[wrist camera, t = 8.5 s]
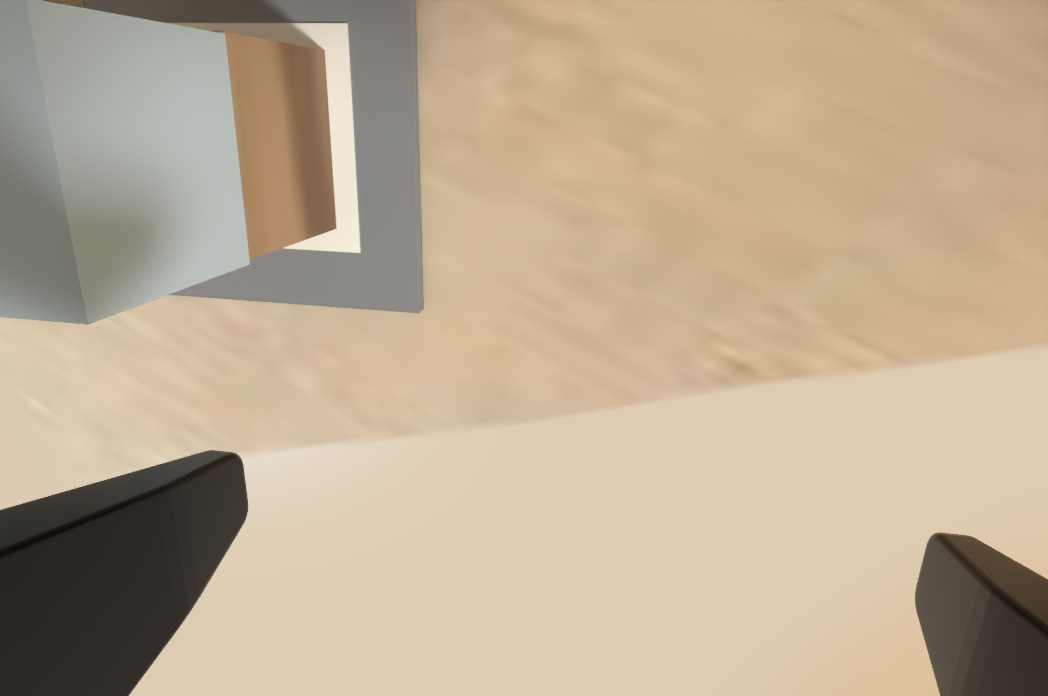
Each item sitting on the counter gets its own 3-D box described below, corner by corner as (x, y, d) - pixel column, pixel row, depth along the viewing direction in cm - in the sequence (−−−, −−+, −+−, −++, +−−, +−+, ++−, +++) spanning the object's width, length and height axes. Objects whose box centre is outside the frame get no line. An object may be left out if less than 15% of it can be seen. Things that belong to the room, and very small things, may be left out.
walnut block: (324, 50, 19) (219, 30, 15) (336, 228, 21) (245, 261, 16) (164, 48, 20) (17, 29, 16) (188, 220, 22) (61, 249, 17)
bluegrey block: (250, 264, 16) (88, 324, 12) (65, 252, 17) (-155, 303, 13) (225, 33, 15) (25, -2, 10) (22, 32, 16) (-248, -2, 11)
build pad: (413, -48, 19) (406, -53, 18) (423, 308, 22) (417, 313, 21) (89, -43, 20) (73, -47, 20) (142, 288, 24) (131, 292, 23)
